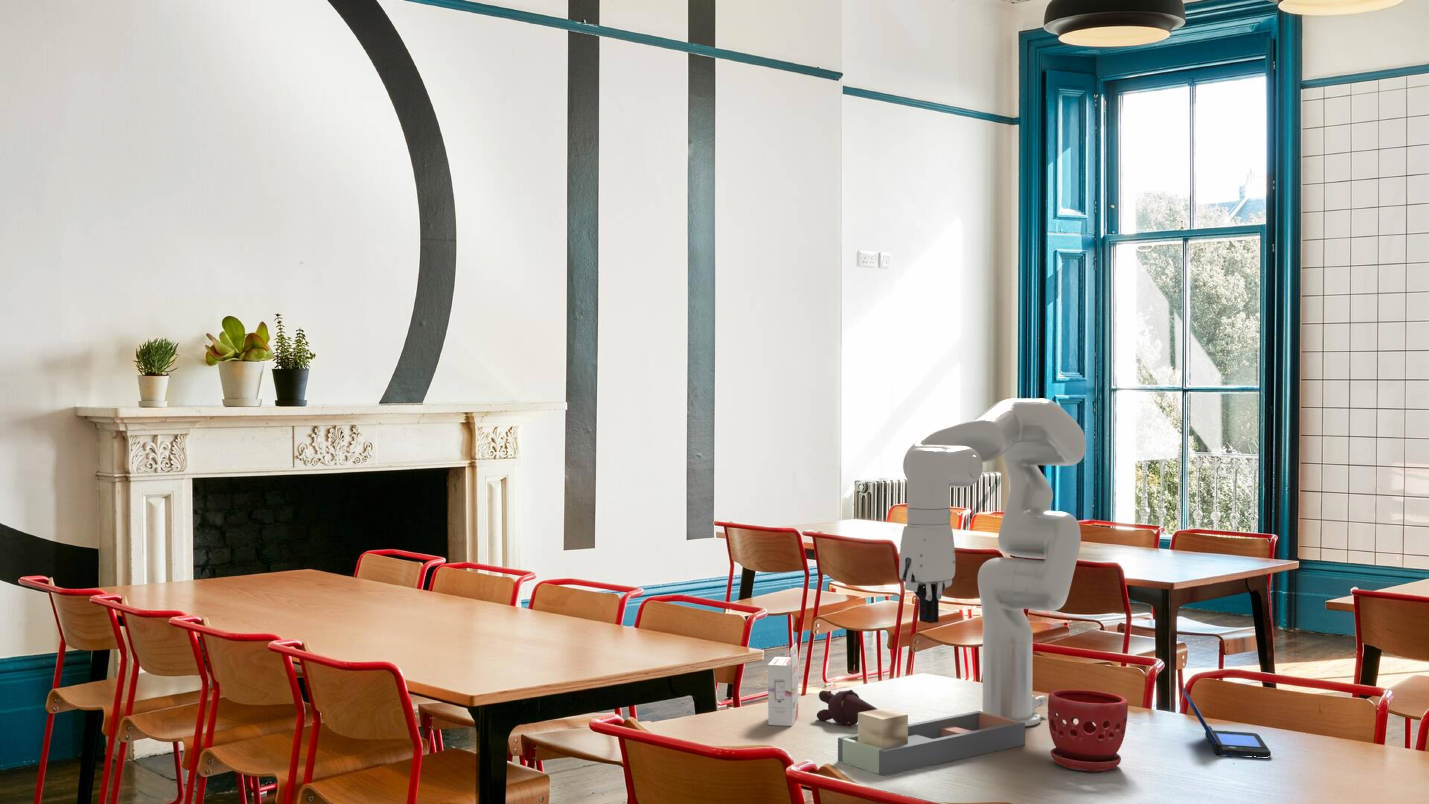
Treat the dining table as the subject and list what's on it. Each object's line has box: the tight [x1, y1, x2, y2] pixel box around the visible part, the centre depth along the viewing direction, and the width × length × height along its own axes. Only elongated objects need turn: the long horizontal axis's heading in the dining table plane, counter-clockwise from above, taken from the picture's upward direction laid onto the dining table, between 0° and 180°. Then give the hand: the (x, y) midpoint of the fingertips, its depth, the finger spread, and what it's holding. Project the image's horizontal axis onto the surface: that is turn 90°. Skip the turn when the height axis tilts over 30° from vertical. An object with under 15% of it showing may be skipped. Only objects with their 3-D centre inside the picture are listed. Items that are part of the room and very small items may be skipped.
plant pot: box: [1047, 688, 1129, 772], centre depth 227 cm, size 13×13×12 cm
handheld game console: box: [1182, 687, 1272, 757], centre depth 240 cm, size 16×13×9 cm
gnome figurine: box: [816, 689, 878, 727], centre depth 255 cm, size 7×7×15 cm
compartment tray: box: [837, 710, 1026, 777], centre depth 235 cm, size 35×11×4 cm, turn 126°
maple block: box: [857, 707, 909, 749], centre depth 227 cm, size 6×6×6 cm
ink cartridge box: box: [767, 642, 799, 727], centre depth 258 cm, size 9×5×15 cm, turn 168°
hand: (928, 621), depth 235 cm, fingers closed
